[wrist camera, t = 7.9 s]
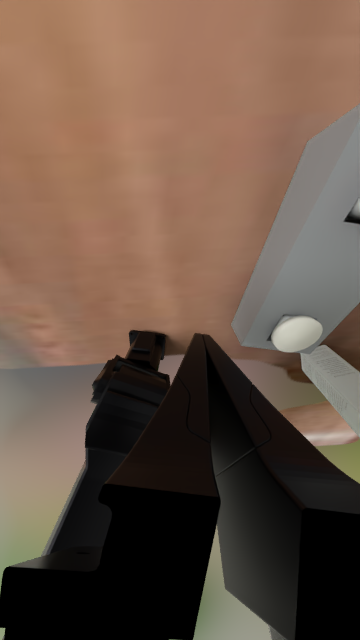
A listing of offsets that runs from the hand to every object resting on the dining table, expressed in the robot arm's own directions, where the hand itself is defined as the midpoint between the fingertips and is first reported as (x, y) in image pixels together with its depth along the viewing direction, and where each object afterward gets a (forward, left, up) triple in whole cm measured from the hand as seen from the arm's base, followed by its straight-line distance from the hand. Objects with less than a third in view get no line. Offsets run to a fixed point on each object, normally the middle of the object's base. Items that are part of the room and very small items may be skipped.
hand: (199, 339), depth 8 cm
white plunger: (-3, -13, -12) cm, 18 cm away
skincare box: (-12, -26, -13) cm, 32 cm away
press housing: (+3, -13, -13) cm, 19 cm away
